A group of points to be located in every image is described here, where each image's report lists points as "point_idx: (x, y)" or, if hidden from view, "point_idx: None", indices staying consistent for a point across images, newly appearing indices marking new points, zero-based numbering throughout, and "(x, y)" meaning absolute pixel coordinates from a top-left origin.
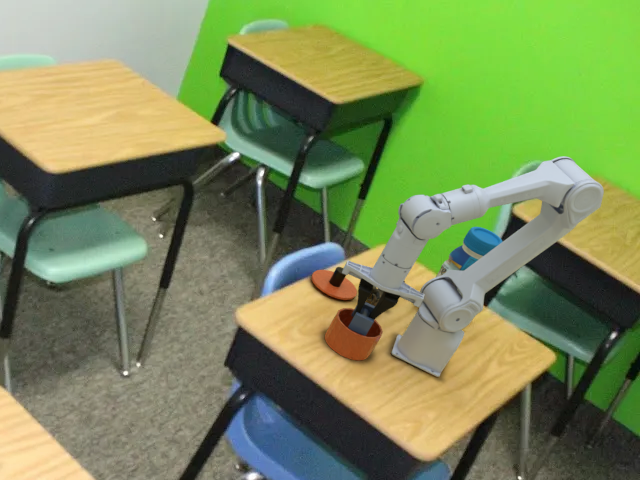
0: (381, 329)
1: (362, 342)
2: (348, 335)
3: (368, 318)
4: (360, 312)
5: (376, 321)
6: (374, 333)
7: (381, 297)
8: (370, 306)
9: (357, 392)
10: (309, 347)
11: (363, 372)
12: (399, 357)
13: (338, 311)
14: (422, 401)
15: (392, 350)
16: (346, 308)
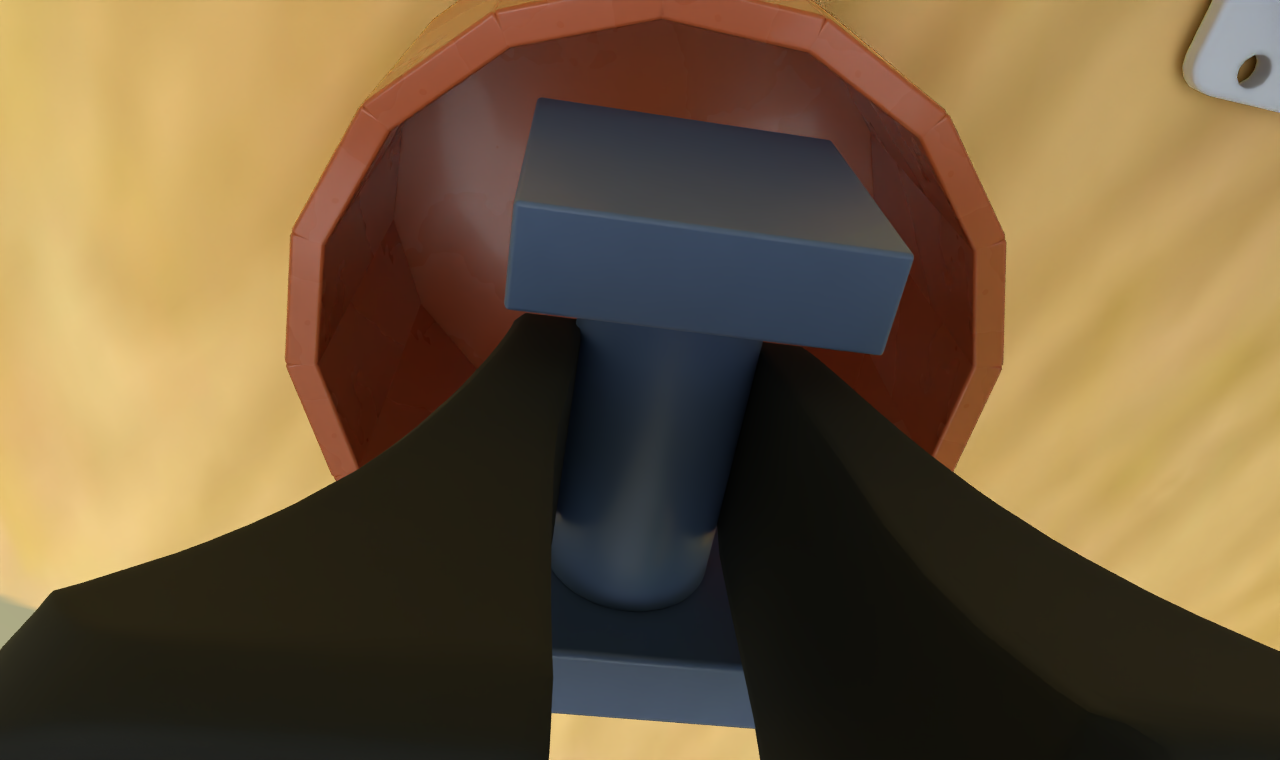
0: (993, 323)
1: None
2: None
3: (677, 699)
4: (588, 415)
5: (951, 151)
6: (926, 196)
7: (879, 741)
8: (750, 333)
9: (709, 746)
10: (274, 475)
11: None
12: (1265, 105)
13: (294, 281)
14: (1257, 591)
15: (1210, 28)
16: (410, 86)
